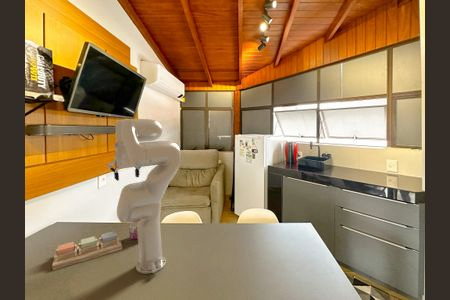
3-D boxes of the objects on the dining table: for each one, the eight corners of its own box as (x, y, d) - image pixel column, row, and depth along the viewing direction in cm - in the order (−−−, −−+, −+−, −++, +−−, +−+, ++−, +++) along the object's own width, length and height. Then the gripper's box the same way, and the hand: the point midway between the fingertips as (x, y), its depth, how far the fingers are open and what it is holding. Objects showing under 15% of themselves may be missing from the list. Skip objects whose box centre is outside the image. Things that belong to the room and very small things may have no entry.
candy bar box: (129, 239, 122) (127, 210, 121) (134, 235, 127) (132, 207, 126) (149, 240, 121) (147, 210, 120) (152, 235, 126) (151, 207, 125)
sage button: (96, 246, 109) (95, 240, 109) (81, 250, 106) (81, 244, 106) (95, 241, 114) (94, 236, 114) (81, 245, 111) (80, 239, 110)
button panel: (122, 249, 112) (121, 240, 112) (52, 270, 97) (51, 260, 96) (117, 238, 124) (117, 231, 123) (55, 256, 108) (54, 247, 108)
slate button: (116, 240, 114) (115, 235, 114) (103, 244, 111) (102, 238, 111) (114, 236, 119) (114, 231, 119) (101, 240, 116) (101, 234, 115)
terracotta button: (74, 252, 104) (73, 246, 104) (58, 257, 101) (57, 250, 100) (74, 247, 109) (73, 241, 109) (59, 251, 106) (58, 245, 105)
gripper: (107, 146, 104) (110, 182, 105) (144, 144, 115) (146, 176, 116) (104, 146, 109) (107, 180, 111) (139, 143, 120) (141, 174, 122)
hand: (127, 178), depth 114 cm, fingers open, 9 cm apart
